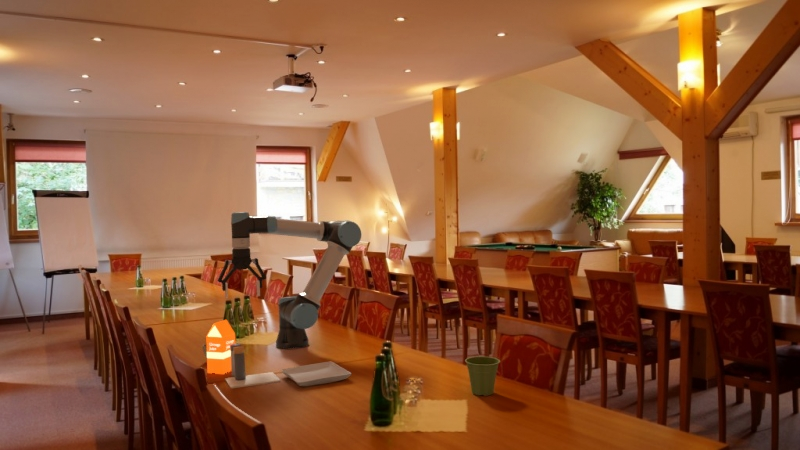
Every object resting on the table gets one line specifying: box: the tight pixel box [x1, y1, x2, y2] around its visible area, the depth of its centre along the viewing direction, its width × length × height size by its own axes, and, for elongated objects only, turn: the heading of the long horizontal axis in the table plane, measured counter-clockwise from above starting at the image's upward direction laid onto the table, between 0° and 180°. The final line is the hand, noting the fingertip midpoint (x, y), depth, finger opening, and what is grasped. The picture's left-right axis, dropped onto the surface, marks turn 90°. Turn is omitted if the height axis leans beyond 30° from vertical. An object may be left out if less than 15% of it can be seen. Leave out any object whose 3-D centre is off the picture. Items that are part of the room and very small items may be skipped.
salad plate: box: [280, 360, 352, 387], centre depth 236 cm, size 21×21×3 cm
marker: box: [233, 345, 247, 380], centre depth 235 cm, size 4×4×12 cm
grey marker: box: [230, 343, 242, 377], centre depth 243 cm, size 4×4×12 cm
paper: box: [224, 371, 281, 390], centre depth 235 cm, size 18×13×1 cm
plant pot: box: [464, 355, 501, 397], centre depth 213 cm, size 12×12×11 cm
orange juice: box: [205, 319, 236, 375], centre depth 251 cm, size 8×9×20 cm
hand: (242, 297), depth 270 cm, fingers open, 13 cm apart
